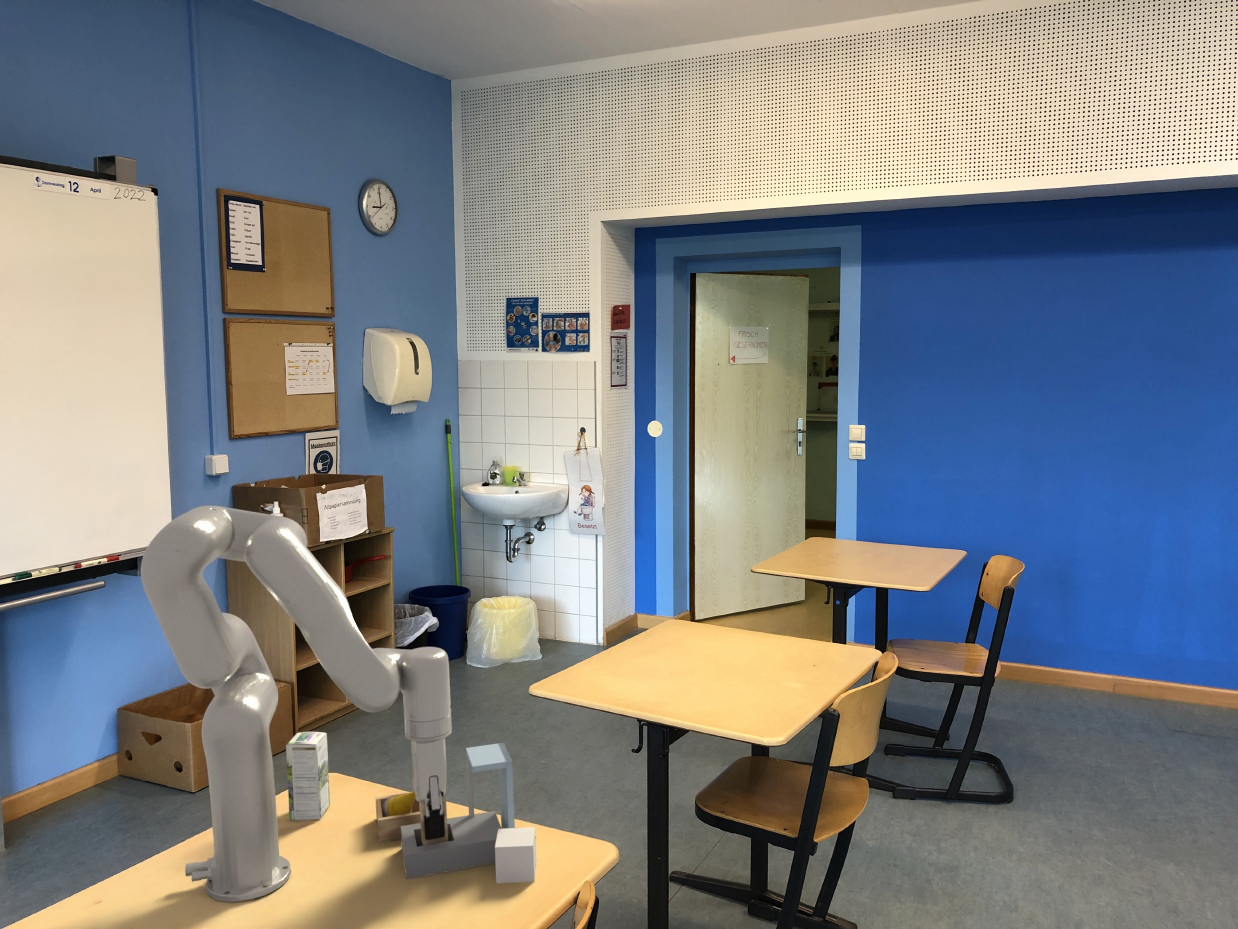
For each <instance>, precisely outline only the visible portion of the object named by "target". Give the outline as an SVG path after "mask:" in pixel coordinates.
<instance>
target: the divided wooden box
mask: <svg viewBox="0 0 1238 929" xmlns="http://www.w3.org/2000/svg"><path fill="white" fill-rule="evenodd" d="M411 792H412V791H410V792H405V793H398V794H397V793H396V794H395V795H399V796H400V795H404V794H407V793H411ZM392 795H393V794H389V795H385V796H378V797H374V798H375V813H376V825H377V834H378V843H379V844H380V843H381V844H382V843H386V842H392V841H398V840H399V841H400V840H401V826H405V825H411V824H418V823H420V806H419V802H418V801H417V800H416V797H415V799H414V802H413V806H412V813H408V814H402V815H396V816H390V817H384V815H383V811H382V807H383V804H384V802H385V801H386V800H387V799H388V798H389V797H390V796H392Z"/></svg>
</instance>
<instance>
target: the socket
mask: <svg viewBox="0 0 1238 929" xmlns="http://www.w3.org/2000/svg"><path fill="white" fill-rule="evenodd" d="M447 829H448V842H443V843H437V844H431V845H425V846H422V841H421V825H420V823H418V824H411V825H405V826H401V839H400V840H401V841H400V842H401V852H402V858H403V859H402V860H403V866H404V871H405V878H406V880H408V879H415V878H420V877H425V876H430V875H431V876H432V875H436V874H442V873H447V872H452V871H458V870H464V869H470V868H474V867H481V866H486V865H493V864H496V861H495V844H496V839H497V833H498V829H502V828H501V822H500V820H499V818H498V816H497V812H496V810H492V811H486V812H480V813H474V817H469V814H467V815H461V816H455V817H450V818H448V817H447Z"/></svg>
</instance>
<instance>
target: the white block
mask: <svg viewBox="0 0 1238 929" xmlns="http://www.w3.org/2000/svg"><path fill="white" fill-rule="evenodd" d="M536 840H537V839H536V827H535V826H529V827H515V828H505V829H498V833H497V839H496V844H495V861H496V863H495V880H496V881H495V882H496V884H505V883H506V884H507V883H508V884H509V883H530V882H535V879H536V871H537V870H536V869H537V845H536V844H537V843H536V842H537V841H536Z"/></svg>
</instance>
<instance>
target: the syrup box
mask: <svg viewBox="0 0 1238 929" xmlns="http://www.w3.org/2000/svg"><path fill="white" fill-rule="evenodd" d="M327 735H328V734H327V732H322V731H321V732H319V731H303V732H297V733H296V734H295V735H294V736H292V738H291V739H290V741H288V742H287V744H286V745H285V750H286V771H287V773H286V774H287V775H286V776H287V793H288V812H289V813H288V814H289V821H315V820H318V821H319V820H321V819H322V818H323V816H324V815H325V813H326V812H327V810H328V809H329V807H330V805H331V798H330V797H331V796H330V780H329V778H330V777H329V757H328V756H329V754H328V736H327Z"/></svg>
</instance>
